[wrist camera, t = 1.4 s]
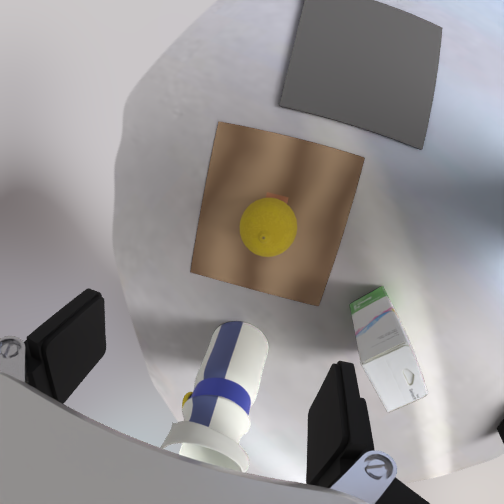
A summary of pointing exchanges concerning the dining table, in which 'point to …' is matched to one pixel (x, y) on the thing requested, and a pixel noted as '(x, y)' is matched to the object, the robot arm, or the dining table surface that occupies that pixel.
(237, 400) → the water bottle
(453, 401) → the dining table surface
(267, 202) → the lemon
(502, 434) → the digital camera
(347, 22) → the rubber mat
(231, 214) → the board
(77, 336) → the robot arm
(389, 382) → the ink box
